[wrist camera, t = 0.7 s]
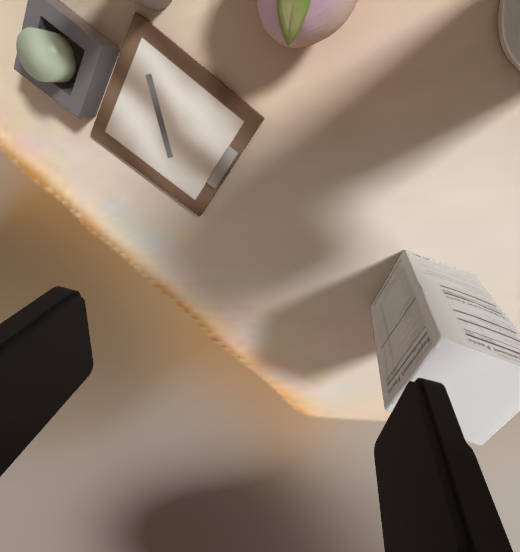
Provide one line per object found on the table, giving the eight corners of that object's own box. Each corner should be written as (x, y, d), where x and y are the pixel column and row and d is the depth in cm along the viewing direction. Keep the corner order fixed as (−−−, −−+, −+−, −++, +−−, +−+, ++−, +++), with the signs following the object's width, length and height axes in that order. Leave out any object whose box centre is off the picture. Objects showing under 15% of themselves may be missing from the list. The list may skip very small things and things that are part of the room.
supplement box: (434, 332, 44) (480, 451, 29) (367, 308, 44) (381, 413, 30) (479, 273, 39) (561, 380, 24) (403, 246, 39) (441, 337, 25)
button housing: (53, -5, 34) (30, -13, 32) (119, 49, 35) (102, 45, 33) (35, 70, 38) (13, 68, 36) (95, 116, 39) (78, 117, 37)
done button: (42, 20, 33) (21, 15, 31) (81, 51, 33) (63, 48, 31) (32, 63, 35) (12, 62, 33) (68, 91, 36) (51, 91, 33)
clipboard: (138, 13, 33) (132, 10, 32) (264, 118, 36) (262, 118, 35) (93, 133, 40) (87, 134, 39) (201, 214, 43) (198, 217, 42)
